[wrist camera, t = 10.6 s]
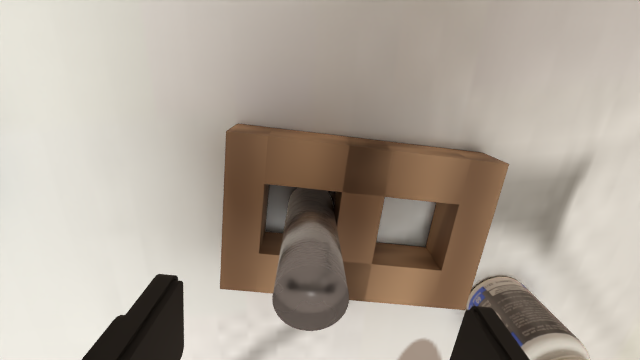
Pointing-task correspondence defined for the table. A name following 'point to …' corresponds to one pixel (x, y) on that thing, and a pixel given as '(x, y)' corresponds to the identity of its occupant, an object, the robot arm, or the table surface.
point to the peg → (310, 264)
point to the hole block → (361, 211)
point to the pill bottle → (528, 320)
